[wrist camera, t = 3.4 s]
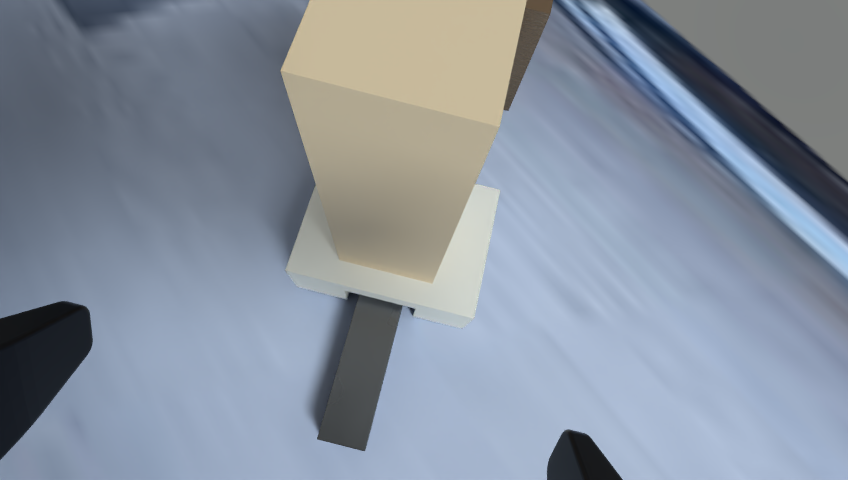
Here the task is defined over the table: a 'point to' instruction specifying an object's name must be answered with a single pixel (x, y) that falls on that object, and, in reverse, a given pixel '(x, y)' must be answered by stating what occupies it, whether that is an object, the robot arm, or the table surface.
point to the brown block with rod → (379, 318)
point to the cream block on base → (400, 147)
